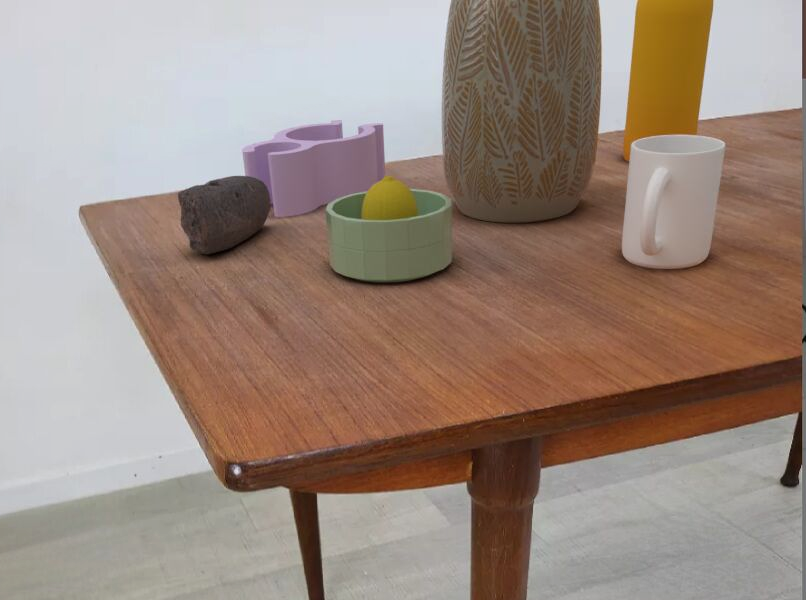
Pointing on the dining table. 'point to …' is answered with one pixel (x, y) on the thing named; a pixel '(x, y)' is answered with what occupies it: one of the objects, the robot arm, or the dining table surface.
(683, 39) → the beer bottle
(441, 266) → the green planter pot
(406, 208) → the lemon
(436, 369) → the dining table surface
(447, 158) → the vase
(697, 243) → the mug
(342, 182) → the clip
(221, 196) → the perforated stone tool
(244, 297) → the dining table surface
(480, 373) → the dining table surface
